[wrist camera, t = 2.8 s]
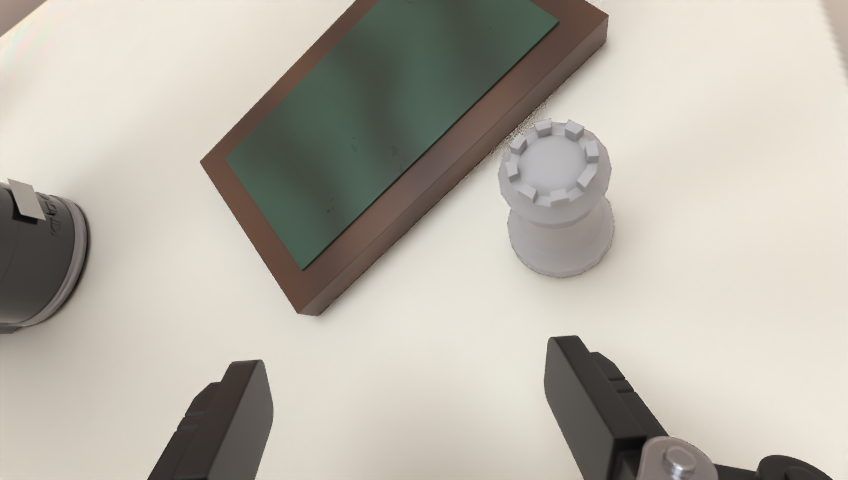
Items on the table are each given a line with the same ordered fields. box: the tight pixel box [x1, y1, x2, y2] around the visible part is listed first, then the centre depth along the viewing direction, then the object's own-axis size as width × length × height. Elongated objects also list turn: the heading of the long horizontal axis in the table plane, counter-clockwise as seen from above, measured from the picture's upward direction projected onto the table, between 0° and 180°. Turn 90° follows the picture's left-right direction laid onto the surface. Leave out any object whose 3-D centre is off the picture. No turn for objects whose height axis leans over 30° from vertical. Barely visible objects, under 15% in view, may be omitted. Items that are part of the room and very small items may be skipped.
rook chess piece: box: [498, 118, 614, 278], centre depth 16 cm, size 4×4×8 cm
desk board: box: [200, 0, 609, 316], centre depth 23 cm, size 20×12×2 cm, turn 128°
